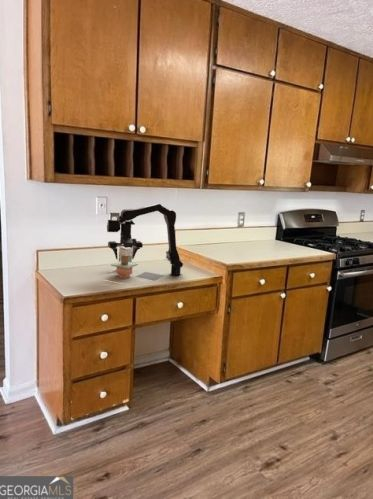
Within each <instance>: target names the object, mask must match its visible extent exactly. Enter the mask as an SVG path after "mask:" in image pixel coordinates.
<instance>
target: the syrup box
mask: <svg viewBox="0 0 373 499" xmlns="http://www.w3.org/2000/svg"><path fill="white" fill-rule="evenodd" d="M118 247H119V248H118V249H119V250H118V262H119V261H121V255H129V257H128V262H132V261H133V259H132V251H133V247H132V248H130V247H129V248H125V247H124V246H118ZM132 263H133V262H132Z"/></svg>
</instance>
